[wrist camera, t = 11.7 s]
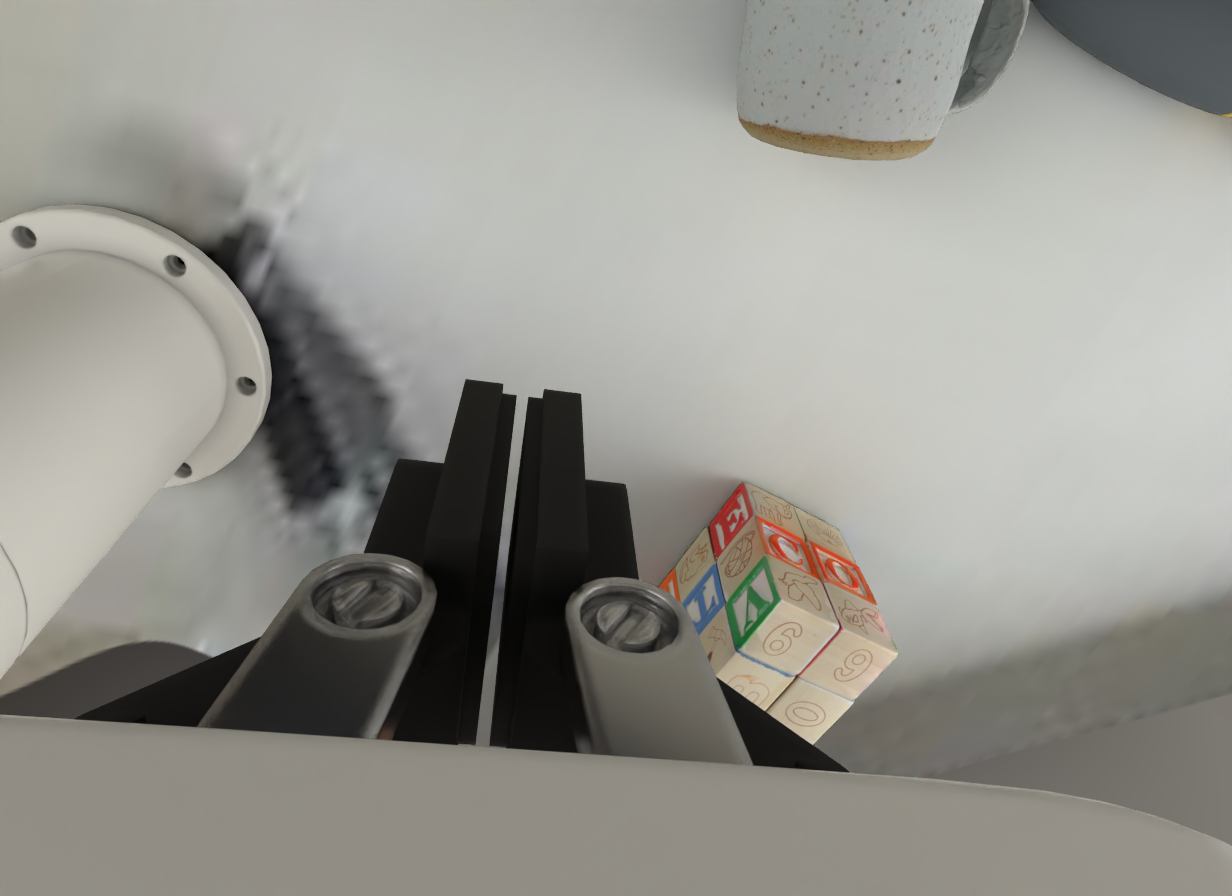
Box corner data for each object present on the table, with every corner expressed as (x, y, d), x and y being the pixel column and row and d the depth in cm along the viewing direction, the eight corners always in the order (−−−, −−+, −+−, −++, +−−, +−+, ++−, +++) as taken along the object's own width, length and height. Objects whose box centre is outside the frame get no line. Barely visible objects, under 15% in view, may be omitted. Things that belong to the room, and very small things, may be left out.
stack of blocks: (740, 474, 39) (802, 652, 29) (840, 526, 41) (935, 712, 30) (532, 745, 48) (520, 962, 37) (623, 779, 50) (636, 995, 39)
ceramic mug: (713, 126, 32) (755, 160, 25) (742, -130, 28) (802, -171, 21) (973, 142, 32) (1082, 179, 26) (1038, -104, 29) (1186, -135, 22)
